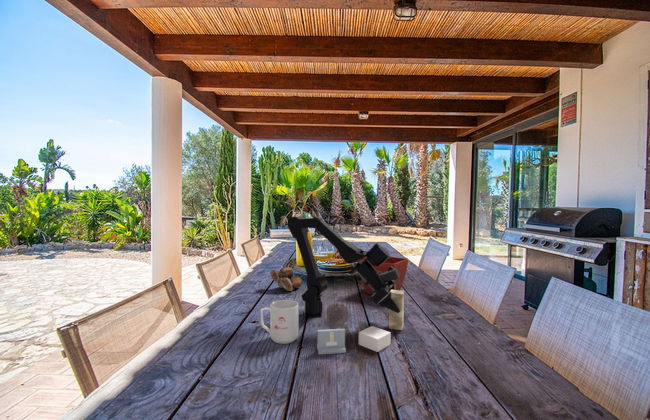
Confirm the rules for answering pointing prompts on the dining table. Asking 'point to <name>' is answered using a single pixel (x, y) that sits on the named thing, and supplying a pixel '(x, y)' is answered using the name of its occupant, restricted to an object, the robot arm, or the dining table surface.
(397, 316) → the maple pillar
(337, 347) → the plaque
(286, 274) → the brown lumpy cluster
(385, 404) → the dining table surface
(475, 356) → the dining table surface
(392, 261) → the plant pot
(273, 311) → the mug
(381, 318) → the dining table surface
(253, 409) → the dining table surface
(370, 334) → the white slab
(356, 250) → the robot arm
